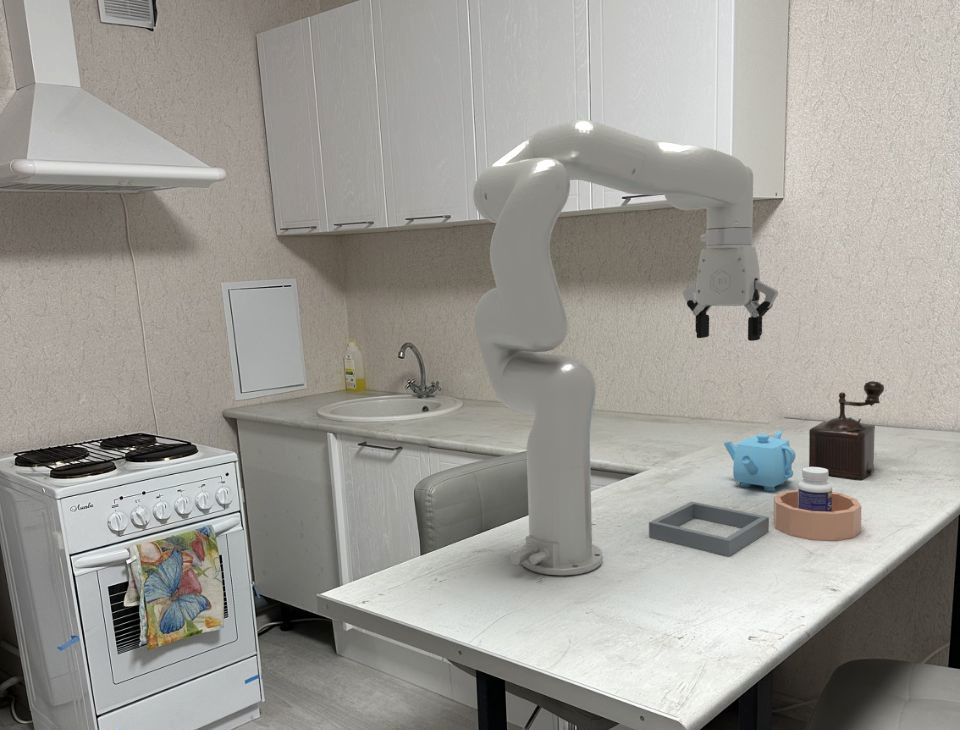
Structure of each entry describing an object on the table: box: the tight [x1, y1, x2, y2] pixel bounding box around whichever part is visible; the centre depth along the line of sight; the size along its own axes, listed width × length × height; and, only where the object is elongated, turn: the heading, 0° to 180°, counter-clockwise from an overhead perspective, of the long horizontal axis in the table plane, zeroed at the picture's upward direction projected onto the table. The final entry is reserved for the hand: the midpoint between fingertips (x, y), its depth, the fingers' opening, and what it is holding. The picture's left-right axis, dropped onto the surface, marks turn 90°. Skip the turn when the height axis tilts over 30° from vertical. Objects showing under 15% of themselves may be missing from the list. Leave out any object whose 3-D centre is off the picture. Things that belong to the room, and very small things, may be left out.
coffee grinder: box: [808, 380, 885, 481], centre depth 164 cm, size 16×11×18 cm
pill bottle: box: [797, 466, 833, 512], centre depth 131 cm, size 5×5×9 cm
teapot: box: [723, 430, 796, 492], centre depth 156 cm, size 18×14×10 cm
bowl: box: [772, 489, 862, 542], centre depth 131 cm, size 13×13×4 cm
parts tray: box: [648, 501, 770, 558], centre depth 130 cm, size 14×14×2 cm
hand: (727, 338), depth 138 cm, fingers open, 9 cm apart
